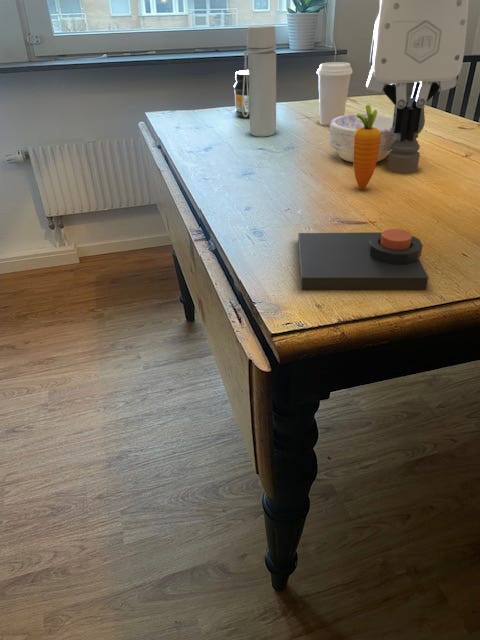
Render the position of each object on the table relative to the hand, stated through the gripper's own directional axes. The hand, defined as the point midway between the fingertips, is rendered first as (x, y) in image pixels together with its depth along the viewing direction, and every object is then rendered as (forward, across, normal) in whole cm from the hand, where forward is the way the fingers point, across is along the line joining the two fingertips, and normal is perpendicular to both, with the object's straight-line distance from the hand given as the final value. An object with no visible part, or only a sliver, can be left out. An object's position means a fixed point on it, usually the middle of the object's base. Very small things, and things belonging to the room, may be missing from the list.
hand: (403, 138), depth 65 cm
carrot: (+16, 0, +26) cm, 31 cm away
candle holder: (+17, +10, +38) cm, 43 cm away
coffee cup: (+17, 0, +82) cm, 83 cm away
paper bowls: (+16, +3, +47) cm, 50 cm away
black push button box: (+16, -5, -4) cm, 18 cm away
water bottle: (+16, -20, +71) cm, 75 cm away
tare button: (+13, 0, -4) cm, 14 cm away
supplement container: (+16, -23, +95) cm, 99 cm away
